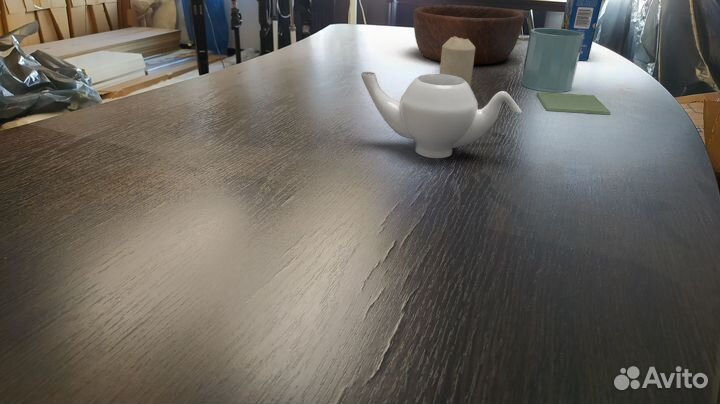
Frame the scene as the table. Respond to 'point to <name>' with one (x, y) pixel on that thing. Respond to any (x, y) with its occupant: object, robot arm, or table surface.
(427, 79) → the teapot
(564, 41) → the cup
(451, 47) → the candle
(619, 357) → the table surface
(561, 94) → the mat
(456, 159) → the table surface
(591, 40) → the blue food package
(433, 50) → the wooden bowl
